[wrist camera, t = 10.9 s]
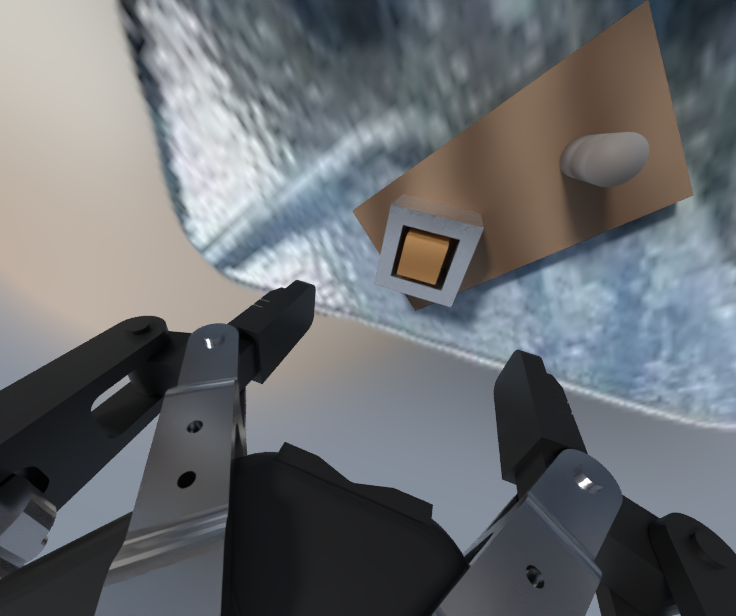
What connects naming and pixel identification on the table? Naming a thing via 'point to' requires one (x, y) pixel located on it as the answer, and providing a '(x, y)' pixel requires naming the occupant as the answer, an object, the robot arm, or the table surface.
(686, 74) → the table surface
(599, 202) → the stand board
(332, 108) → the table surface
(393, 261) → the collar
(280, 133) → the table surface
